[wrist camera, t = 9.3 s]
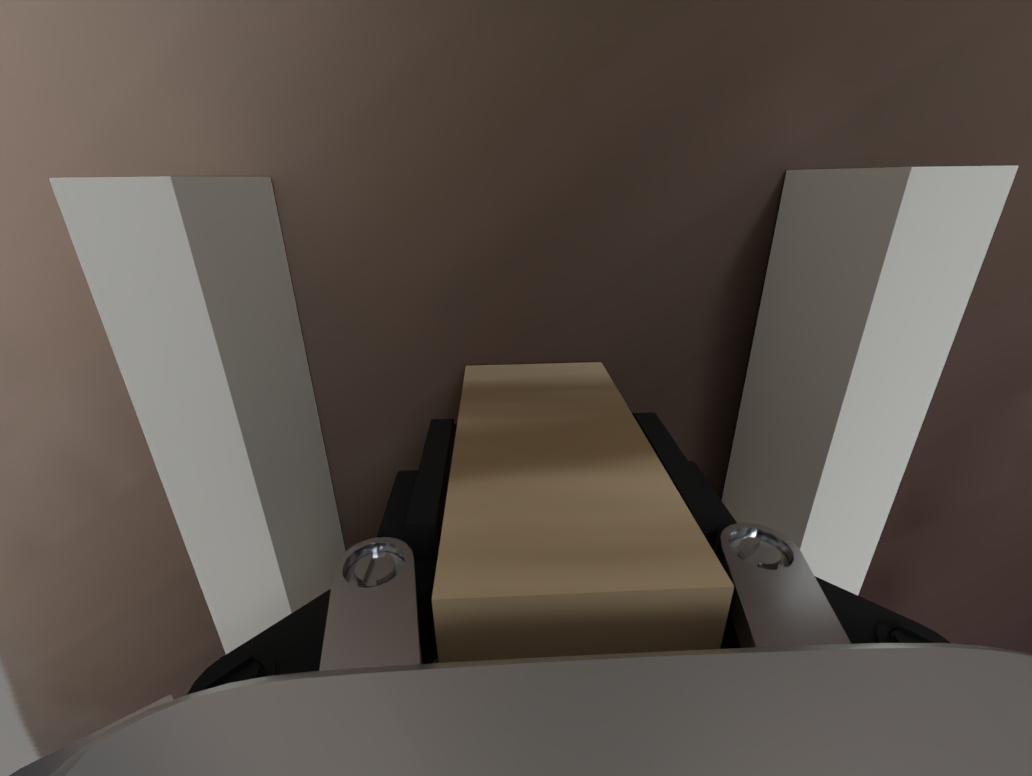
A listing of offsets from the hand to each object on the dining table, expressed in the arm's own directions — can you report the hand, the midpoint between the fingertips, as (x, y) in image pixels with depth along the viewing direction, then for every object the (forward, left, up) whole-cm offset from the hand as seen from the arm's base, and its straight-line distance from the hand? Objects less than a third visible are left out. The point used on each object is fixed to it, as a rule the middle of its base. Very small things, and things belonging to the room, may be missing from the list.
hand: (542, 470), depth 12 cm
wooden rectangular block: (+4, 0, -3) cm, 5 cm away
